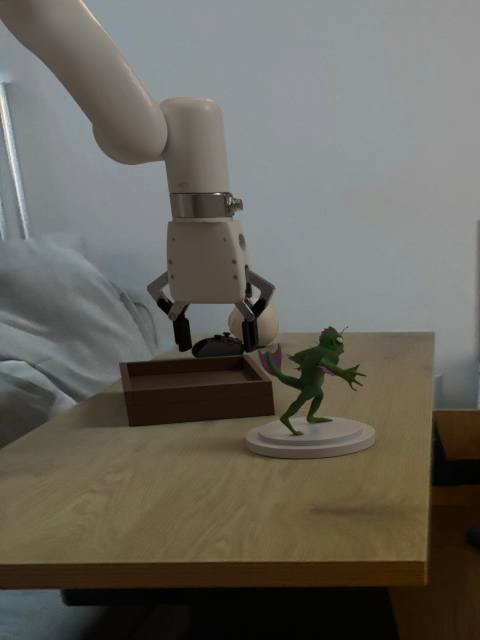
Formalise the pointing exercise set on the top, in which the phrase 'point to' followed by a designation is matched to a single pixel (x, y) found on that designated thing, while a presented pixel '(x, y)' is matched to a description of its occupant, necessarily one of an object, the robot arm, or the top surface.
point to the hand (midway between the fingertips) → (218, 350)
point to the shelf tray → (195, 389)
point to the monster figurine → (311, 407)
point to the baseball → (265, 323)
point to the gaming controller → (218, 346)
